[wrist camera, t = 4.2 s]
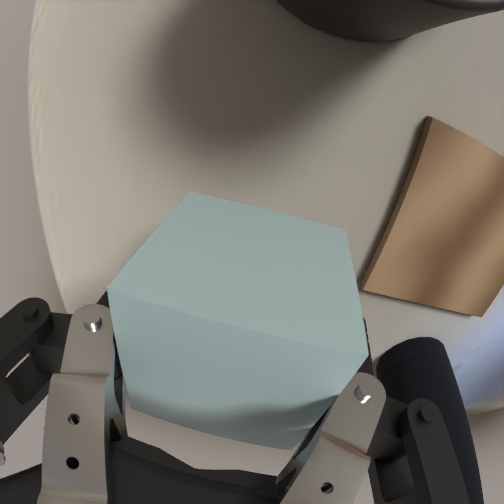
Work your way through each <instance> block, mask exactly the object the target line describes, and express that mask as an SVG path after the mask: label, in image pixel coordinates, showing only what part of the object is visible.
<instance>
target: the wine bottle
mask: <svg viewBox="0 0 504 504" xmlns="http://www.w3.org/2000/svg"><path fill="white" fill-rule="evenodd" d="M376 370H377V379H378V380H379V381H380V382H381V383H382V385H383V387H384V389H385V392H386V395H387V396H389V397H391V398H393V399H395V400H398V401H400V402H402V403H405V404H407V405H409V404H410V403H411V402H412V401H413V400H415V399H418V398H425V399H428V400H430V401H432V402H433V403H434V404H435V405H436V406H437V407H438V408H439V410H440V412H441V414H442V417H443V420H444V422H445V425H446V428H447V431H448V433H449V436H450V439H451V442H452V445H453V448H454V451H455V454H456V457H457V460H458V463H459V466H460V470H461V473H462V476H463V480H464V483H465V487H466V490H467V494H468V498H469V502H470V504H484V501H483V493H482V487H481V480H480V474H479V468H478V463H477V458H476V453H475V448H474V444H473V439H472V435H471V431H470V427H469V423H468V419H467V415H466V412H465V408H464V405H463V401H462V398H461V394H460V391H459V388H458V385H457V382H456V379H455V376H454V373H453V370H452V367H451V364H450V361H449V358H448V355H447V353H446V350H445V347H444V345H443V344H442V343H441V342H440V341H439V340H437V339H434V338H431V337H419V338H415V339H411V340H407V341H405V342H403V343H400V344H398V345H396V346H395V347H393V348H392V349H390V350H389V351H387V352H386V353H385V354H384V356H383V357H382V358H381V359H380V360H379V363H378V365H377V367H376ZM407 459H408V456H407ZM408 462H409V460H408ZM409 466H410V464H409ZM410 470H411V468H410ZM411 474H412V471H411ZM412 478H413V475H412ZM413 482H414V479H413Z"/></svg>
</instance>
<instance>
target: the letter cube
mask: <svg viewBox="0 0 504 504" xmlns="http://www.w3.org/2000/svg"><path fill="white" fill-rule="evenodd" d="M107 293H108V300H109V306H110V312H111V318H112V324H113V329H114V335H115V340H116V345H117V350H118V354H119V359H120V363H121V368H122V372H123V376H124V380H125V384H126V388H127V392H128V395H129V399H130V403H131V407H132V409H135V410H137V411H140V412H143V413H145V414H148V415H151V416H154V417H157V418H159V419H162V420H165V421H168V422H171V423H174V424H178V425H181V426H184V427H187V428H191V429H194V430H198V431H202V432H205V433H209V434H213V435H217V436H221V437H225V438H229V439H233V440H238V441H243V442H247V443H252V444H257V445H262V446H268V447H274V448H281V449H286V450H292V449H293V448H294V447H295V446H296V444H297V443H298V442H299V441H300V440H301V439H302V438H303V437H304V436H305V435H306V433H307V432H308V431H309V430H310V429H311V427H313V426H314V425H315V423H316V422H317V421H318V420H319V419H320V418H321V416H322V415H323V414H324V413H325V412H326V410H327V409H328V408H329V407H330V406H331V404H332V402H333V401H334V400H335V399H336V397H337V396H338V395H339V394H340V393H341V392H342V390H343V389H344V388H345V387H346V385H347V384H348V383H349V381H350V380H351V379H352V377H353V376H354V375H355V373H356V372H357V371H358V369H359V368H360V366H361V365H362V364H363V362H364V361H365V360H366V358H367V357H368V355H369V353H368V346H367V339H366V333H365V327H364V321H363V315H362V309H361V303H360V298H359V293H358V287H357V282H356V277H355V272H354V268H353V263H352V258H351V254H350V249H349V245H348V240H347V236H346V232H345V230H343V229H339V228H336V227H332V226H328V225H325V224H321V223H317V222H313V221H310V220H306V219H302V218H298V217H294V216H291V215H287V214H283V213H279V212H275V211H271V210H267V209H263V208H259V207H255V206H250V205H246V204H242V203H238V202H234V201H229V200H225V199H221V198H216V197H212V196H208V195H203V194H199V193H194V192H190V193H189V194H188V195H187V196H186V197H185V198H184V199H183V200H182V201H181V203H180V204H179V205H178V206H177V207H176V208H175V209H174V210H173V211H172V212H171V213H170V214H169V215H168V217H167V218H166V219H165V220H164V221H163V222H162V223H161V224H160V225H159V227H158V228H157V229H156V230H155V231H154V232H153V233H152V234H151V236H150V237H149V238H148V239H147V240H146V241H145V242H144V244H143V245H142V246H141V247H140V248H139V249H138V250H137V252H136V253H135V254H134V255H133V256H132V258H131V259H130V260H129V261H128V262H127V263H126V265H125V266H124V267H123V268H122V269H121V271H120V272H119V273H118V274H117V276H116V277H115V278H114V279H113V280H112V282H111V283H110V284H109V285H108V287H107Z"/></svg>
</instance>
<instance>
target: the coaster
mask: <svg viewBox="0 0 504 504" xmlns="http://www.w3.org/2000/svg"><path fill="white" fill-rule="evenodd" d="M361 284H362V288H363V290H365V291H369V292H373V293H377V294H382V295H386V296H390V297H394V298H399V299H403V300H407V301H412V302H416V303H420V304H425V305H429V306H433V307H438V308H442V309H447V310H451V311H455V312H460V313H464V314H469V315H473V316H478V317H482V316H483V315H484V313H485V312H486V311H487V309H488V308H489V306H490V305H491V303H492V302H493V300H494V299H495V297H496V296H497V294H498V293H499V291H500V289H501V288H502V286H503V285H504V157H503V156H501V155H500V154H498V153H497V152H495V151H493V150H492V149H490V148H488V147H487V146H485V145H483V144H482V143H480V142H478V141H476V140H475V139H473V138H471V137H469V136H468V135H466V134H464V133H462V132H460V131H458V130H456V129H455V128H453V127H451V126H449V125H447V124H445V123H443V122H441V121H439V120H437V119H435V118H432V117H429V116H427V118H426V121H425V124H424V127H423V131H422V134H421V137H420V140H419V143H418V146H417V149H416V152H415V155H414V158H413V161H412V163H411V166H410V169H409V172H408V174H407V177H406V180H405V182H404V185H403V188H402V190H401V193H400V195H399V198H398V200H397V203H396V205H395V208H394V210H393V213H392V215H391V218H390V220H389V222H388V225H387V227H386V229H385V232H384V234H383V236H382V239H381V241H380V243H379V245H378V247H377V250H376V252H375V254H374V256H373V258H372V260H371V263H370V265H369V267H368V269H367V271H366V273H365V275H364V277H363V279H362V281H361Z"/></svg>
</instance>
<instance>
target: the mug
mask: <svg viewBox="0 0 504 504" xmlns="http://www.w3.org/2000/svg"><path fill="white" fill-rule="evenodd" d="M277 1H278V2H279V3H280V4H281V5H282V6H283V7H284V8H285V9H287V10H288V11H289V12H290V13H291V14H293V15H294V16H296V17H297V18H298V19H300V20H301V21H303V22H305V23H307V24H308V25H310V26H312V27H314V28H316V29H318V30H321V31H323V32H325V33H328V34H331V35H334V36H337V37H340V38H344V39H348V40H354V41H361V42H387V41H393V40H398V39H402V38H405V37H408V36H410V35H413V34H416V33H419V32H422V31H425V30H428V29H431V28H435V27H438V26H441V25H444V24H448V23H451V22H455V21H459V20H462V19H466V18H470V17H474V16H478V15H483V14H487V13H492V12H496V11H500V10H504V0H277Z"/></svg>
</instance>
